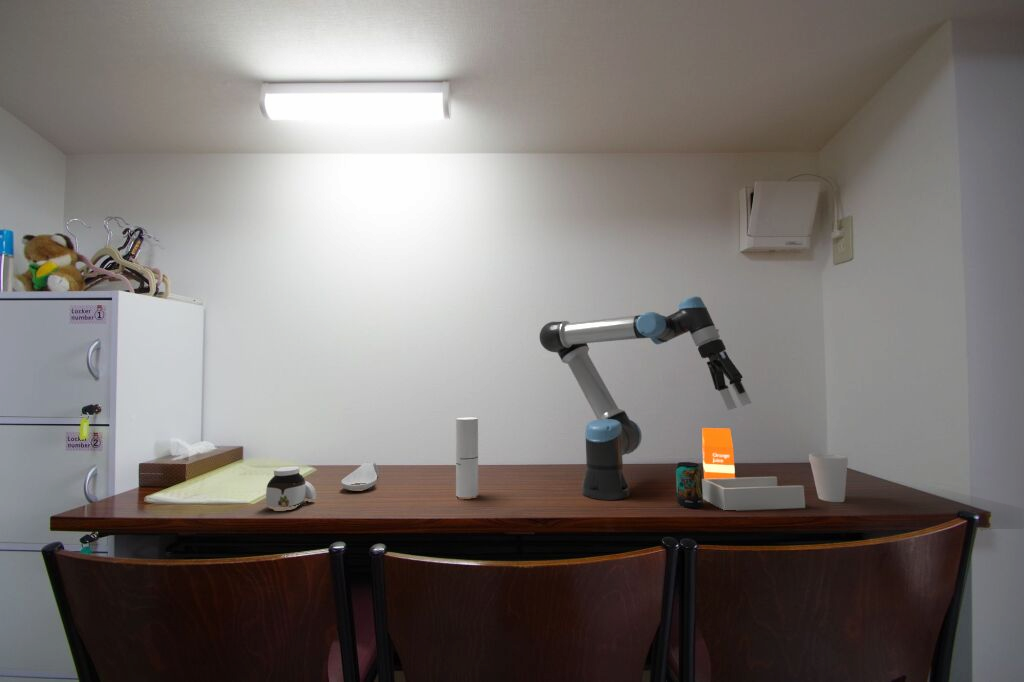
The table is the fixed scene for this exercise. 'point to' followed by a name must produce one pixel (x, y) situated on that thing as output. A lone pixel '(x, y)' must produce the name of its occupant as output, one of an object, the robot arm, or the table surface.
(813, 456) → the foam cup
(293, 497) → the spread jar
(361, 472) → the spoon rest
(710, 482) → the grey shallow open box
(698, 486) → the beverage can
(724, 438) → the orange juice
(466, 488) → the cylindrical container
